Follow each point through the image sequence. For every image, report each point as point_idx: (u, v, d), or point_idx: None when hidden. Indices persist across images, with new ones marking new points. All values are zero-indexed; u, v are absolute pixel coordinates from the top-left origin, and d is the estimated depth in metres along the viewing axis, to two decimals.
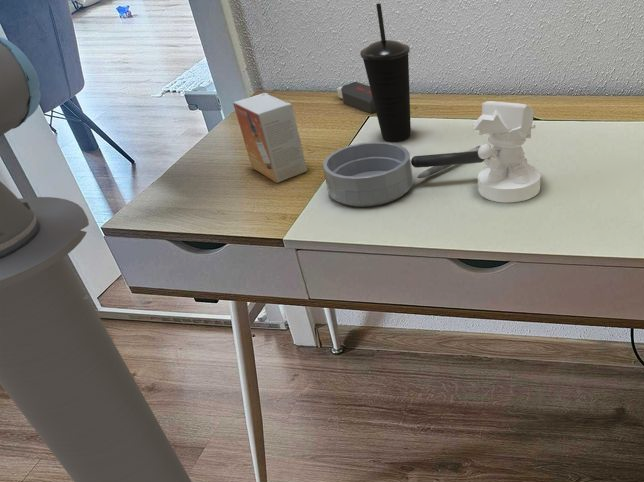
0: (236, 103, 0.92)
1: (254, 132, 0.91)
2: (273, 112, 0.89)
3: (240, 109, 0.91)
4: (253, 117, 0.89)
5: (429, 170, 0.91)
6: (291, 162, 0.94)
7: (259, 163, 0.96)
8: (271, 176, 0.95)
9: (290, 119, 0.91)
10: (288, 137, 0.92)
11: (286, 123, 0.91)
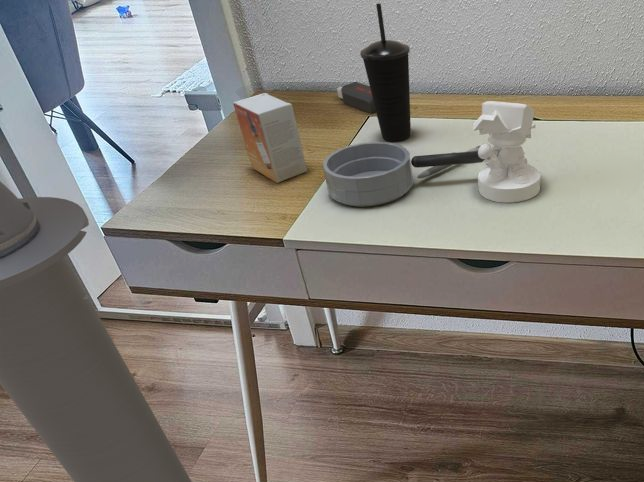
0: (236, 103, 0.92)
1: (254, 132, 0.91)
2: (273, 112, 0.89)
3: (240, 109, 0.91)
4: (253, 117, 0.89)
5: (429, 170, 0.91)
6: (291, 162, 0.94)
7: (259, 163, 0.96)
8: (271, 176, 0.94)
9: (290, 119, 0.91)
10: (288, 137, 0.92)
11: (286, 123, 0.91)
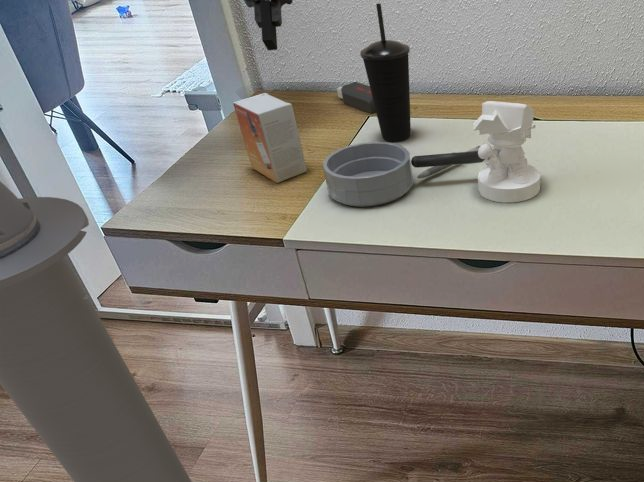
0: (236, 103, 0.91)
1: (254, 133, 0.91)
2: (273, 112, 0.89)
3: (240, 109, 0.91)
4: (253, 117, 0.89)
5: (429, 170, 0.91)
6: (291, 162, 0.94)
7: (259, 163, 0.96)
8: (271, 176, 0.94)
9: (290, 119, 0.91)
10: (288, 137, 0.92)
11: (286, 123, 0.91)
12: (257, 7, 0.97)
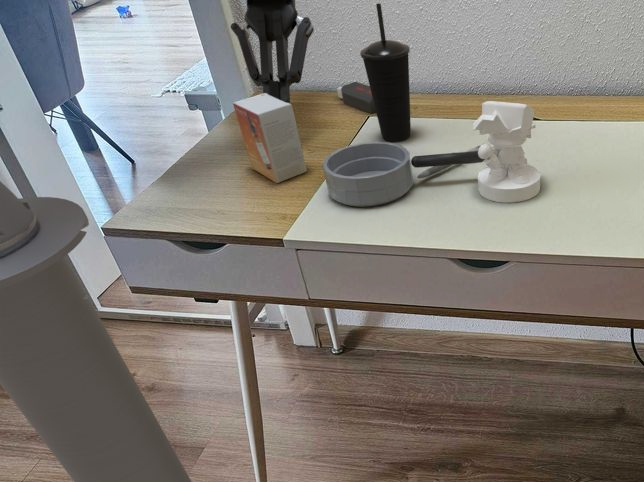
0: (236, 103, 0.91)
1: (254, 133, 0.91)
2: (273, 113, 0.89)
3: (240, 109, 0.91)
4: (253, 117, 0.89)
5: (429, 170, 0.91)
6: (291, 162, 0.94)
7: (259, 163, 0.95)
8: (271, 176, 0.94)
9: (290, 119, 0.91)
10: (287, 137, 0.92)
11: (285, 123, 0.91)
12: (266, 87, 0.99)
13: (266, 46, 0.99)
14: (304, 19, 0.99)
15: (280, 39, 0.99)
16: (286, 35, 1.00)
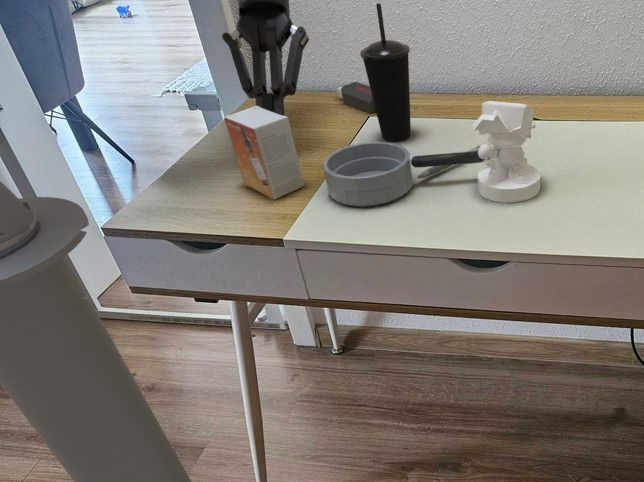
0: (228, 117, 0.87)
1: (248, 148, 0.87)
2: (270, 126, 0.85)
3: (232, 124, 0.87)
4: (248, 132, 0.85)
5: (429, 170, 0.91)
6: (288, 177, 0.90)
7: (253, 179, 0.91)
8: (267, 193, 0.90)
9: (286, 133, 0.87)
10: (284, 152, 0.88)
11: (282, 137, 0.87)
12: (259, 100, 0.95)
13: (259, 57, 0.95)
14: (299, 28, 0.95)
15: (274, 49, 0.95)
16: (280, 45, 0.96)
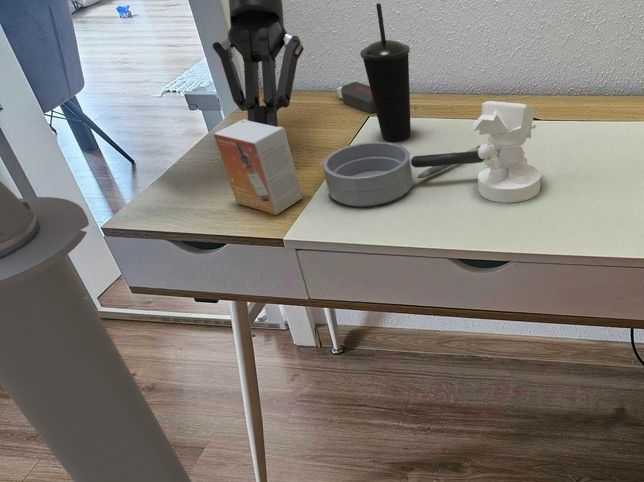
0: (218, 134, 0.82)
1: (246, 164, 0.83)
2: (268, 139, 0.81)
3: (225, 140, 0.82)
4: (246, 147, 0.81)
5: (429, 170, 0.91)
6: (288, 190, 0.87)
7: (249, 196, 0.87)
8: (268, 209, 0.86)
9: (284, 144, 0.84)
10: (283, 164, 0.85)
11: (280, 149, 0.83)
12: (251, 112, 0.90)
13: (251, 67, 0.90)
14: (293, 38, 0.91)
15: (266, 60, 0.90)
16: (273, 55, 0.92)
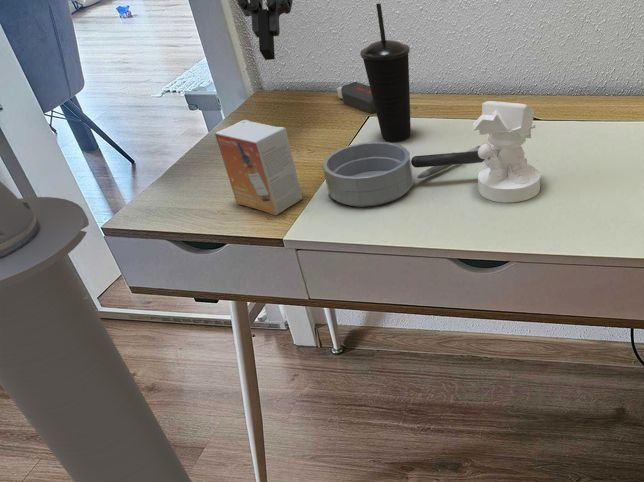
0: (220, 133, 0.83)
1: (246, 163, 0.83)
2: (270, 139, 0.81)
3: (226, 139, 0.82)
4: (247, 146, 0.81)
5: (429, 170, 0.91)
6: (288, 191, 0.87)
7: (249, 197, 0.87)
8: (268, 209, 0.86)
9: (285, 144, 0.84)
10: (284, 164, 0.85)
11: (281, 149, 0.83)
12: (255, 16, 0.96)
13: None
14: None
15: None
16: None
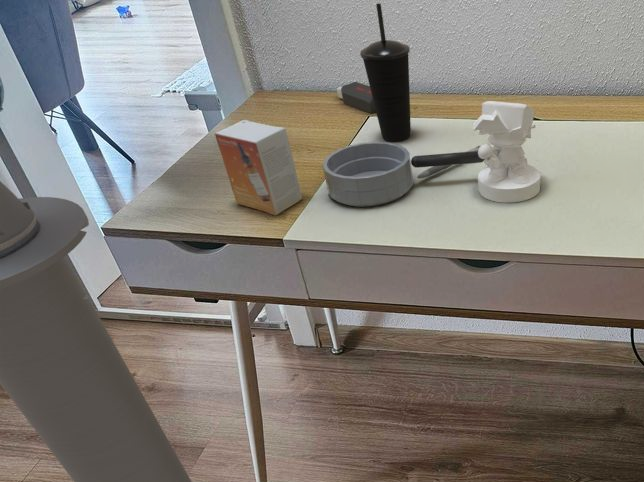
0: (220, 133, 0.83)
1: (246, 163, 0.83)
2: (270, 139, 0.81)
3: (226, 139, 0.82)
4: (247, 146, 0.81)
5: (429, 170, 0.91)
6: (288, 191, 0.87)
7: (249, 197, 0.87)
8: (268, 209, 0.86)
9: (285, 144, 0.84)
10: (284, 164, 0.85)
11: (281, 149, 0.83)
12: None
13: None
14: None
15: None
16: None
